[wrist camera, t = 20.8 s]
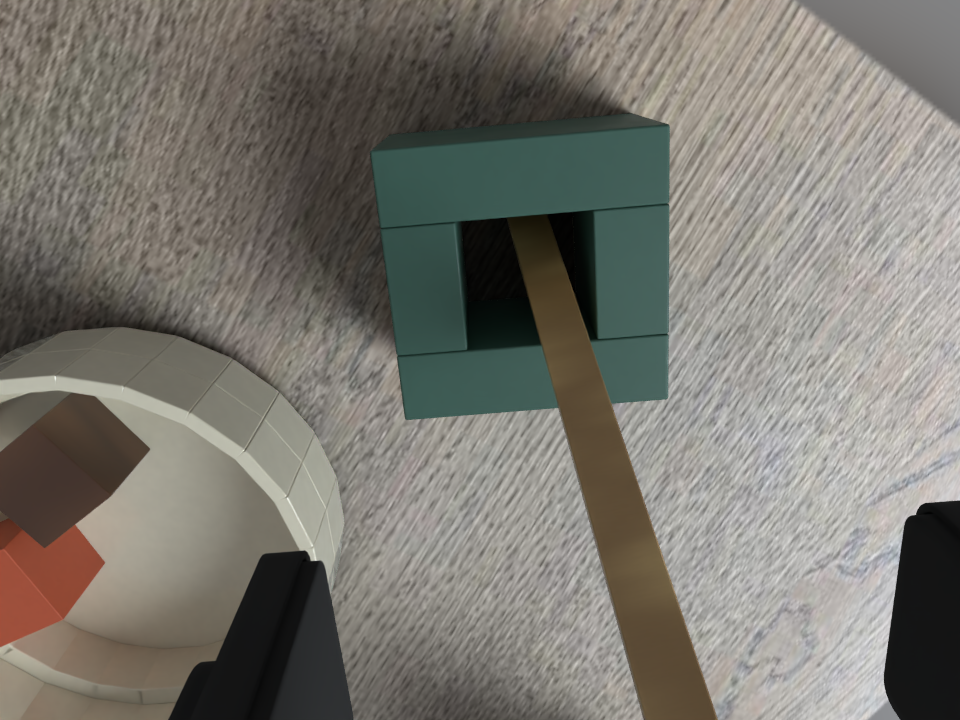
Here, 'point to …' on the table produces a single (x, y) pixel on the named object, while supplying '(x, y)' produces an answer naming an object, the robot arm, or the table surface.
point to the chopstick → (610, 491)
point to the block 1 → (66, 466)
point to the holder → (509, 322)
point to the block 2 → (41, 579)
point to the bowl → (164, 518)
